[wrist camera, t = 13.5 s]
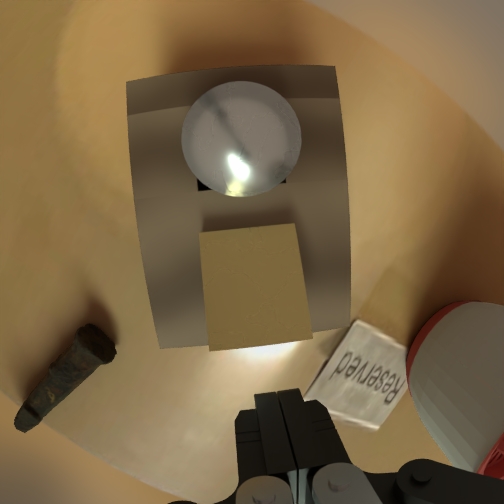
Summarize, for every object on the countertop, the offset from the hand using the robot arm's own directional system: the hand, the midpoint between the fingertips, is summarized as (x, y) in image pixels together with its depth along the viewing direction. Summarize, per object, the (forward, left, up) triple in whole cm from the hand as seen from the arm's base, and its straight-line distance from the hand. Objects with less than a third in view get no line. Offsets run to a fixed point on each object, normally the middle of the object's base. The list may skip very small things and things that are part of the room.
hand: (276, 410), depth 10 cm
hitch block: (-6, 0, -17) cm, 18 cm away
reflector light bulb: (-10, 0, -16) cm, 19 cm away
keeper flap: (-2, 0, -7) cm, 8 cm away
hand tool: (+10, -20, -18) cm, 29 cm away
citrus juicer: (+11, +22, -17) cm, 30 cm away
